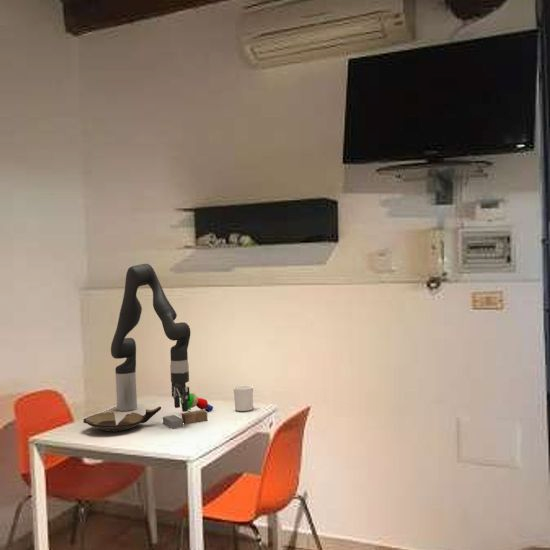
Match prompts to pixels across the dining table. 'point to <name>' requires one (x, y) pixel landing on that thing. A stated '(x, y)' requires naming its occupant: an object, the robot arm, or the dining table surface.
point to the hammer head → (173, 421)
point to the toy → (198, 403)
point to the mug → (243, 398)
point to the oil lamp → (130, 420)
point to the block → (194, 417)
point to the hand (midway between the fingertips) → (181, 409)
